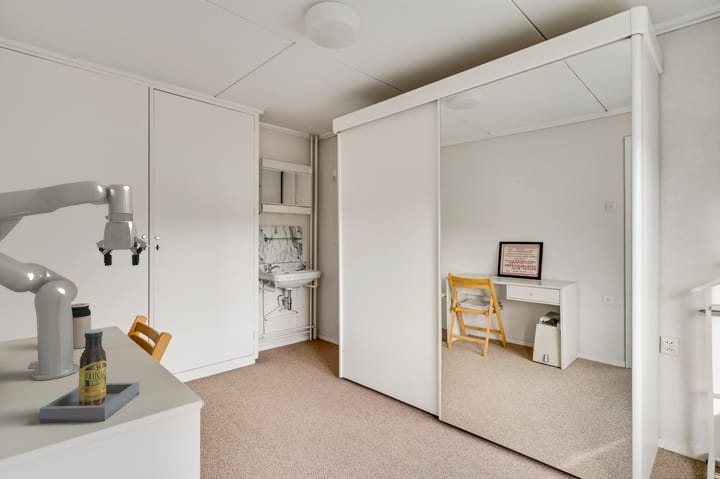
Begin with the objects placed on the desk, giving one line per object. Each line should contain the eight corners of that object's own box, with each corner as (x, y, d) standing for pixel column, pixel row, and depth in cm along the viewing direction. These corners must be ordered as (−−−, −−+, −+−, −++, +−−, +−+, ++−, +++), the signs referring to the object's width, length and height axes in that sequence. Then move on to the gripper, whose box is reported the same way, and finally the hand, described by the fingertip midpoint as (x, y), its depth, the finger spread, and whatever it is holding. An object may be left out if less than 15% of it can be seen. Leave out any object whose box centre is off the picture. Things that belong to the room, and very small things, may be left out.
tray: (40, 422, 95) (39, 409, 95) (83, 395, 111) (83, 383, 111) (104, 420, 96) (104, 407, 96) (139, 394, 112) (139, 382, 112)
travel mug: (82, 349, 156) (81, 306, 156) (63, 349, 157) (62, 306, 156) (96, 343, 164) (95, 302, 164) (78, 343, 165) (77, 303, 164)
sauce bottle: (84, 410, 99) (83, 336, 99) (74, 405, 102) (72, 332, 102) (111, 401, 105) (110, 330, 104) (101, 396, 108) (99, 327, 108)
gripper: (89, 218, 133) (90, 266, 133) (139, 218, 134) (140, 266, 134) (103, 219, 140) (104, 265, 141) (150, 218, 141) (151, 264, 141)
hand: (121, 265), depth 137 cm, fingers open, 9 cm apart
